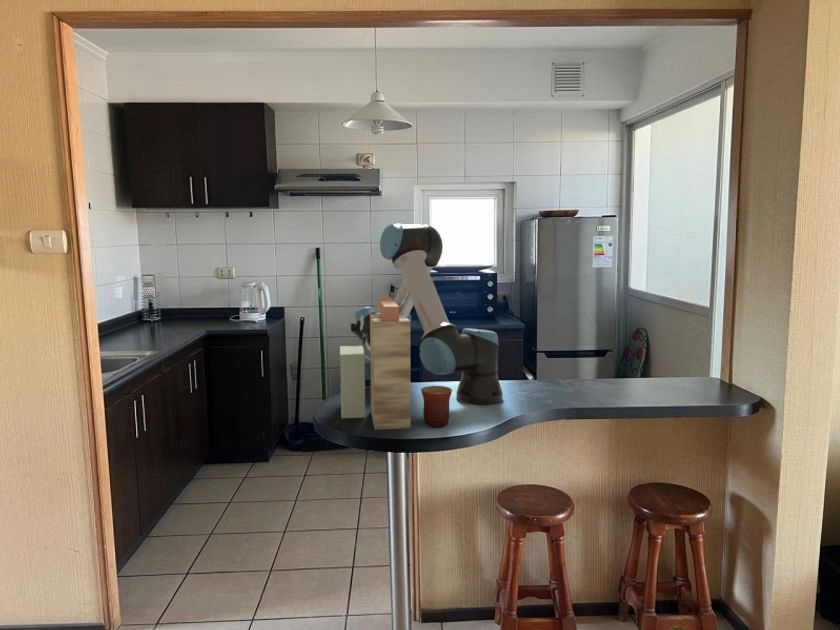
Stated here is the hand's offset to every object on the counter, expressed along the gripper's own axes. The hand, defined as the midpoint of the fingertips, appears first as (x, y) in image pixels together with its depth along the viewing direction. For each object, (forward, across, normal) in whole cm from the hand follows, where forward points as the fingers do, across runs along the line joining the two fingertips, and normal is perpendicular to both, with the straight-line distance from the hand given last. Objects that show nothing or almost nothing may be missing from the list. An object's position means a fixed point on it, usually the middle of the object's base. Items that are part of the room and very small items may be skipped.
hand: (383, 319), depth 194 cm
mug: (+13, -12, -37) cm, 41 cm away
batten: (+17, +1, -5) cm, 17 cm away
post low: (-1, +11, -30) cm, 31 cm away
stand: (+8, 0, -34) cm, 35 cm away
